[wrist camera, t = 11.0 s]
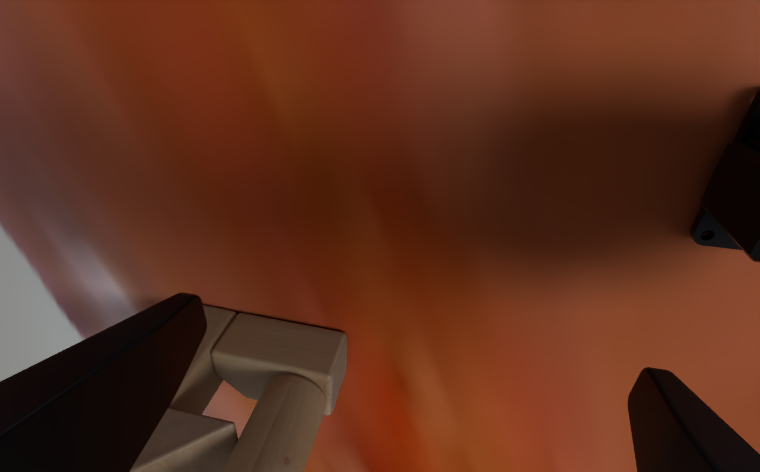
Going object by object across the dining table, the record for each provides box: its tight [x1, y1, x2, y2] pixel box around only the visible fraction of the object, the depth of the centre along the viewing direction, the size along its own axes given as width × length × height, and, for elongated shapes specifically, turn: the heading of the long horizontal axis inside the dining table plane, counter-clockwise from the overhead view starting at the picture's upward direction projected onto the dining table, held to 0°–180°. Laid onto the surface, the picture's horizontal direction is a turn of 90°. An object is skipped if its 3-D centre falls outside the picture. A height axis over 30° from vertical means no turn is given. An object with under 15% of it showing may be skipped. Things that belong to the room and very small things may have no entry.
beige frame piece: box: [130, 305, 347, 472], centre depth 20 cm, size 4×11×18 cm, turn 87°
